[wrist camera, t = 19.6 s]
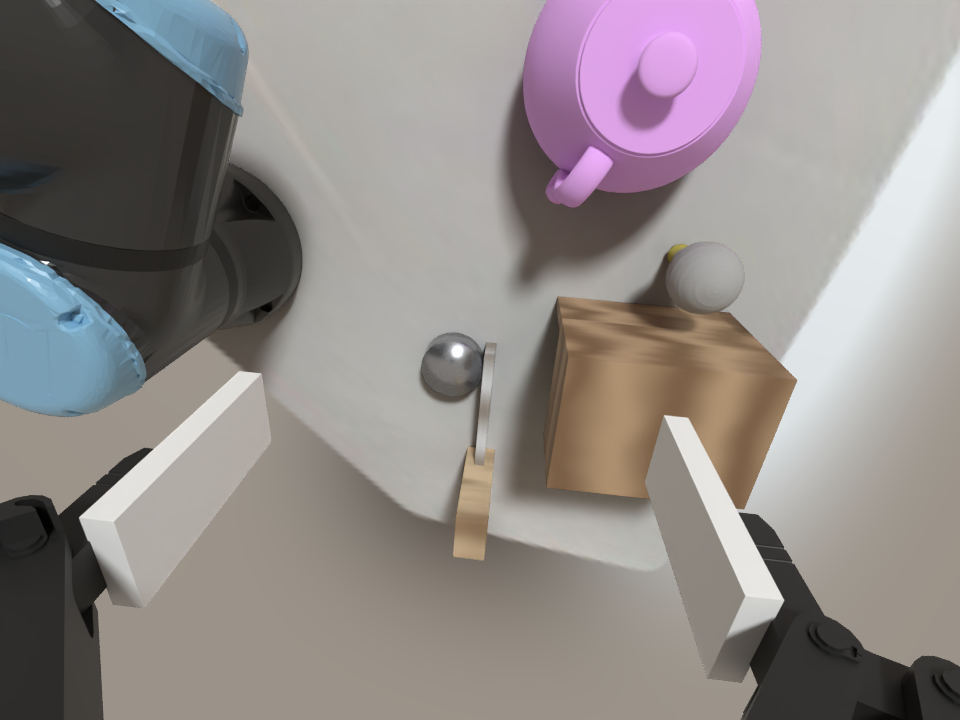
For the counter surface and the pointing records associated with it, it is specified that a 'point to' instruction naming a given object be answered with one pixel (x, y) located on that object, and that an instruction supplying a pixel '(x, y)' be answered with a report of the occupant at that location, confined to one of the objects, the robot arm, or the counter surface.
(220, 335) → the counter surface
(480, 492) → the wood and metal l-shape
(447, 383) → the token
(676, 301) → the light bulb
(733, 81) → the teapot
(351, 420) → the counter surface
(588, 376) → the small wooden cabinet
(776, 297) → the counter surface
